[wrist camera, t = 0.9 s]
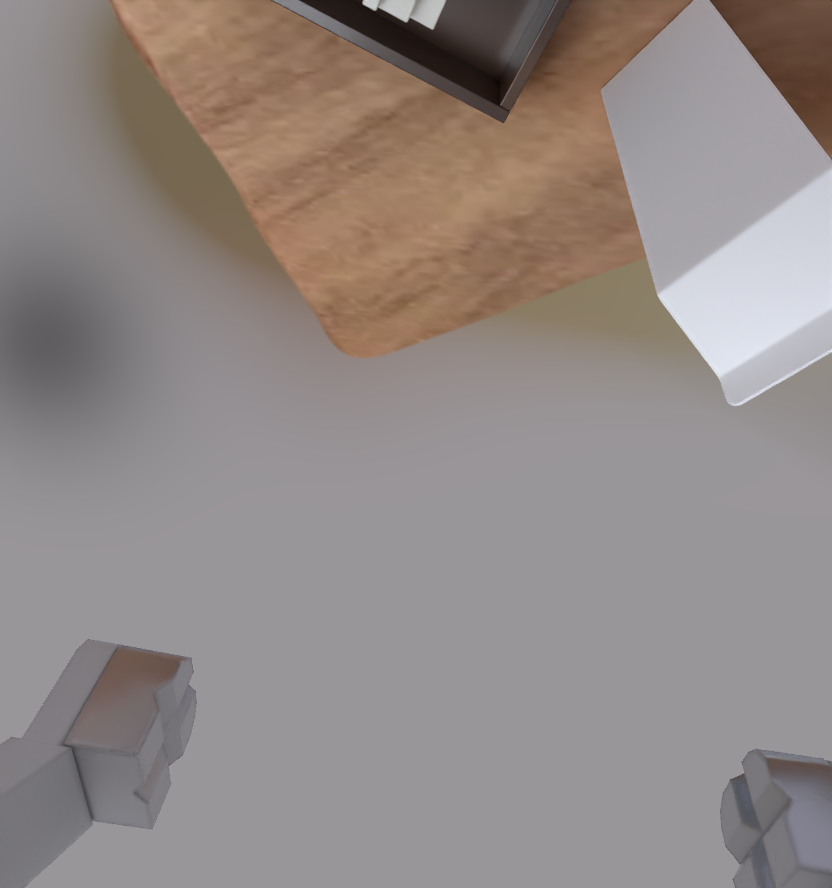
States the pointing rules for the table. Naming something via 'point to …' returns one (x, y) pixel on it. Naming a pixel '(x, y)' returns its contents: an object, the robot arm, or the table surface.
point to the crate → (451, 43)
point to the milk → (727, 201)
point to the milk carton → (410, 9)
